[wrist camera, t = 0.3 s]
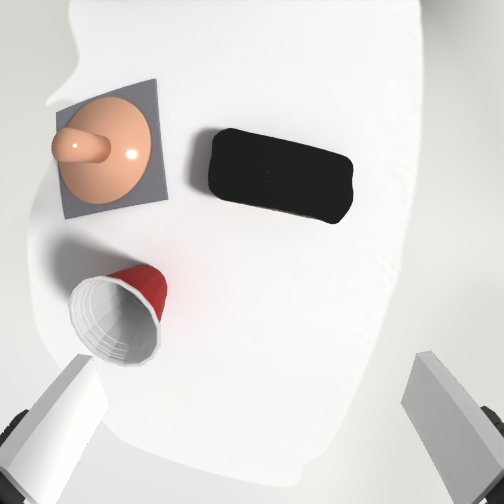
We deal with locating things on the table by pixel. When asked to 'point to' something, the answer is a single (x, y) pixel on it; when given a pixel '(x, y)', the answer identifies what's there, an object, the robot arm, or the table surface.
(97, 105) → the lid
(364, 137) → the table surface
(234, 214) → the table surface
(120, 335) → the plastic cup
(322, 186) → the black sponge
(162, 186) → the mat
